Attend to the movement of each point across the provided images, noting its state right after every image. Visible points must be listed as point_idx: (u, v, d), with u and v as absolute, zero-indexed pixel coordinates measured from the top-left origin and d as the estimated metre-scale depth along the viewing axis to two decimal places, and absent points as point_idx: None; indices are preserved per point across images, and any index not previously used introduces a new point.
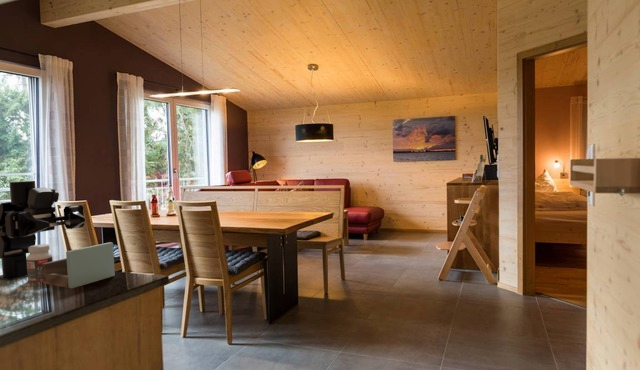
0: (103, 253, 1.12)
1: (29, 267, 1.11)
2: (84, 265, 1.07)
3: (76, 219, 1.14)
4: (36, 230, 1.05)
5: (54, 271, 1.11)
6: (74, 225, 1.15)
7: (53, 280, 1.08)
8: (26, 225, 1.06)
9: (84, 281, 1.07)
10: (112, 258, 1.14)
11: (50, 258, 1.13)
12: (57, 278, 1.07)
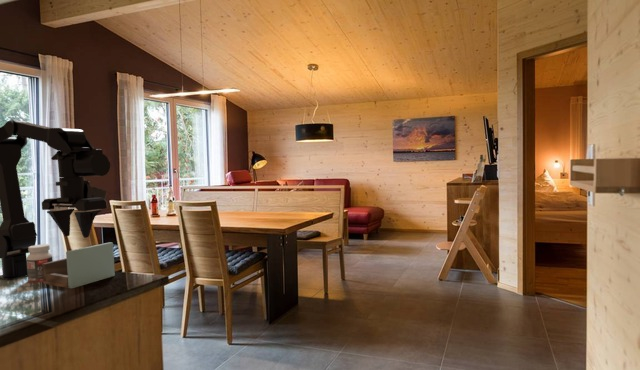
0: (103, 253, 1.12)
1: (29, 267, 1.11)
2: (84, 265, 1.07)
3: (65, 223, 1.13)
4: (82, 225, 1.08)
5: (54, 271, 1.11)
6: (58, 219, 1.12)
7: (53, 280, 1.08)
8: None
9: (84, 281, 1.07)
10: (112, 258, 1.14)
11: (50, 258, 1.13)
12: (57, 278, 1.07)
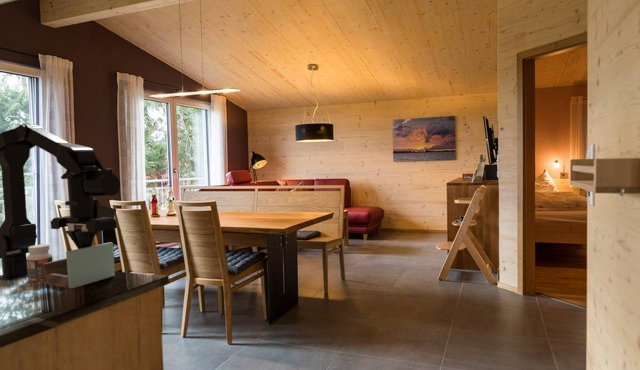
0: (103, 253, 1.12)
1: (29, 267, 1.11)
2: (84, 265, 1.07)
3: None
4: (82, 245, 1.09)
5: (54, 271, 1.11)
6: (76, 239, 1.09)
7: (53, 280, 1.08)
8: None
9: (84, 281, 1.07)
10: (112, 258, 1.14)
11: (50, 258, 1.13)
12: (57, 278, 1.07)
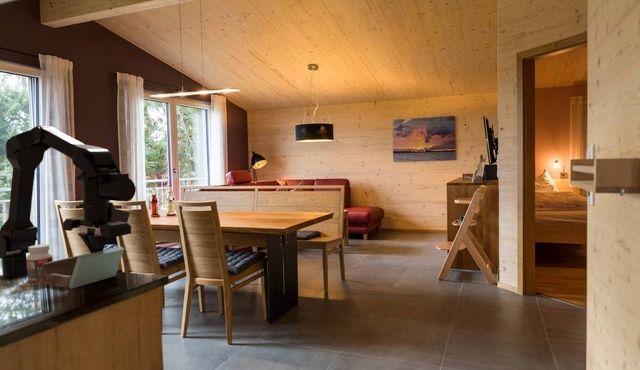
0: (111, 258, 1.11)
1: (29, 267, 1.11)
2: (90, 269, 1.06)
3: None
4: (95, 249, 1.06)
5: (54, 271, 1.11)
6: (89, 242, 1.07)
7: (53, 280, 1.08)
8: None
9: (85, 283, 1.07)
10: (118, 262, 1.14)
11: (50, 258, 1.13)
12: (57, 278, 1.07)
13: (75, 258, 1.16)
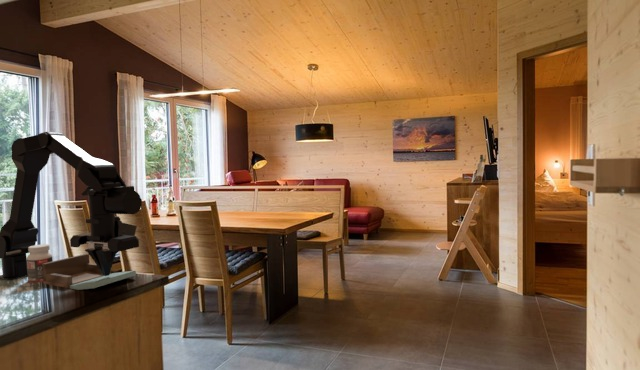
0: None
1: (29, 267, 1.11)
2: None
3: None
4: (104, 264, 1.05)
5: (54, 271, 1.11)
6: (97, 258, 1.06)
7: (53, 280, 1.08)
8: None
9: None
10: None
11: (50, 258, 1.13)
12: (57, 278, 1.07)
13: (75, 258, 1.16)
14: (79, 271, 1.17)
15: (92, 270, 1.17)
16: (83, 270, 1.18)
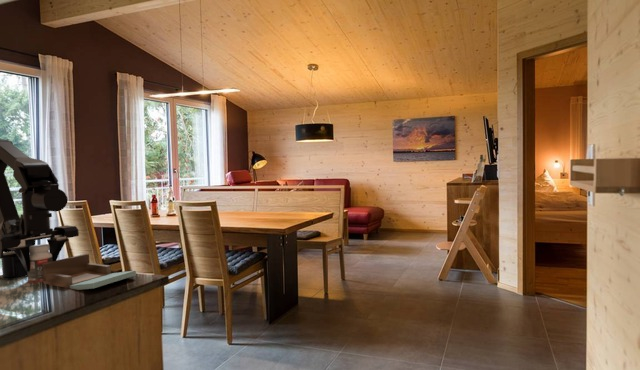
0: None
1: None
2: None
3: None
4: None
5: (54, 271, 1.11)
6: None
7: (53, 280, 1.08)
8: None
9: None
10: None
11: (50, 258, 1.13)
12: (57, 278, 1.07)
13: (75, 258, 1.16)
14: (79, 271, 1.17)
15: (92, 270, 1.17)
16: (83, 270, 1.18)
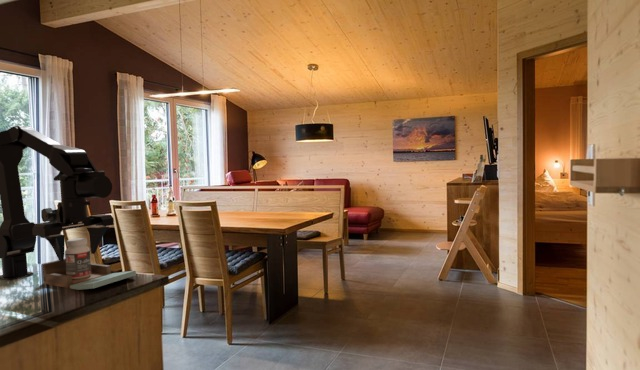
0: None
1: (68, 261, 1.09)
2: None
3: None
4: None
5: (54, 271, 1.11)
6: None
7: (53, 280, 1.08)
8: None
9: None
10: None
11: (88, 252, 1.12)
12: (57, 278, 1.07)
13: None
14: None
15: (92, 270, 1.17)
16: None
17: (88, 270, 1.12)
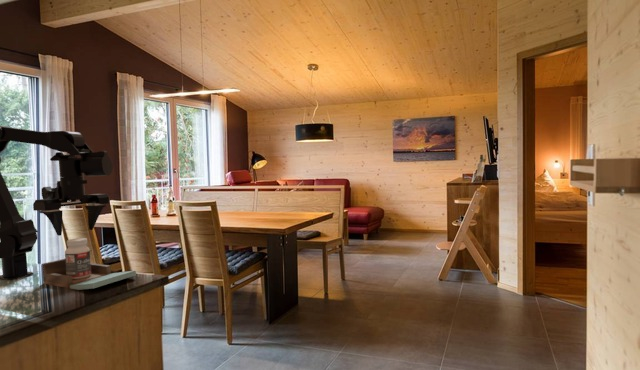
0: None
1: (68, 261, 1.10)
2: None
3: None
4: None
5: (54, 271, 1.11)
6: None
7: (53, 280, 1.08)
8: None
9: None
10: None
11: (88, 252, 1.12)
12: (57, 278, 1.07)
13: None
14: None
15: (92, 270, 1.17)
16: None
17: (88, 270, 1.12)
